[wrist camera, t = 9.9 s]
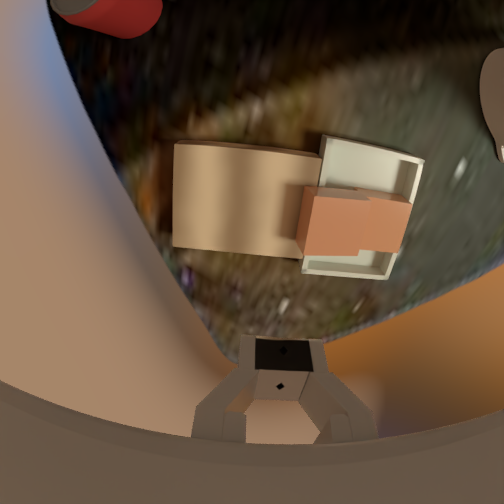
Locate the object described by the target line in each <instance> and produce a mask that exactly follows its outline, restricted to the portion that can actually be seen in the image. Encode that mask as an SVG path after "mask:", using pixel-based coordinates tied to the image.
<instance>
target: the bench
mask: <svg viewBox="0 0 504 504" xmlns="http://www.w3.org/2000/svg"><path fill="white" fill-rule="evenodd" d="M321 162H322V159H321V158H320V157H319V156H318V155H317V154H316V153H312V152H305V151H298V150H291V149H284V148H276V147H268V146H259V145H250V144H239V143H228V142H216V141H201V140H182V139H181V140H180V141H178V142H177V143H175V144H174V167H173V246H174V247H184V248H194V249H204V250H214V251H225V252H235V253H245V254H256V255H266V256H276V257H287V258H297V259H303V254H302V252H301V251H300V249H299V247H298V245H297V243H296V242H295V239H296V233H297V227H298V222H299V216H300V210H301V204H302V198H303V192H304V186H314V187H317V184H318V178H319V173H320V167H321Z"/></svg>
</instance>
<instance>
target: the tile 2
mask: <svg viewBox="0 0 504 504" xmlns="http://www.w3.org/2000/svg"><path fill="white" fill-rule="evenodd" d="M354 190H355V191H359V192H361V193H362V194H363V195H365V196H366V197H367V198H369V199H370V200H371V201H372V204H371V208H370V212H369V216H368V220H367V224H366V228H365V231H364V235H363V239H362V242H361V246H360V250H370V251H380V252H390V253H398V251H399V248H400V245H401V242H402V239H403V235H404V232H405V229H406V226H407V222H408V219H409V216H410V212H411V208H412V205H413V204H412V203H410V202H409V201H408V200H407V199H406V198H404V197H403V196H402V195H399V194H393V193H388V192H382V191H376V190H370V189H364V188H358V187H355V188H354Z"/></svg>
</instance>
